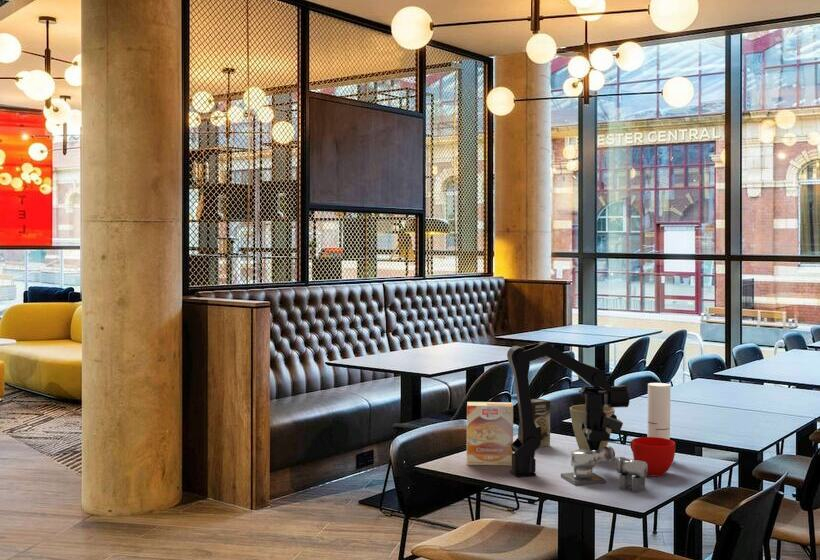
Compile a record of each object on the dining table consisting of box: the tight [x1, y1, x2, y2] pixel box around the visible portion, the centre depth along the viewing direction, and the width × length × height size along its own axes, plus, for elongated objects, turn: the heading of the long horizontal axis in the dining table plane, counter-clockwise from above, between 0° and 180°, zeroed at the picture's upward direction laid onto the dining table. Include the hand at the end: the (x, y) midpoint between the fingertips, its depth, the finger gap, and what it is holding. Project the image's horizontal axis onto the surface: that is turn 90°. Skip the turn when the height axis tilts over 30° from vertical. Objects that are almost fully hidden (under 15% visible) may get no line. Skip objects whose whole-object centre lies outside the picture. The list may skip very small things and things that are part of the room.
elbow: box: [570, 445, 616, 468], centre depth 268 cm, size 15×7×4 cm, turn 125°
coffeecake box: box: [466, 401, 514, 467], centre depth 286 cm, size 15×7×20 cm, turn 86°
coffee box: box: [531, 398, 551, 448], centre depth 311 cm, size 9×6×16 cm
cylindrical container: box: [646, 382, 671, 440], centre depth 290 cm, size 7×7×25 cm
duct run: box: [616, 456, 648, 494], centre depth 255 cm, size 8×5×9 cm, turn 50°
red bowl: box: [629, 436, 676, 477], centre depth 275 cm, size 13×17×10 cm
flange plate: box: [560, 467, 607, 486], centre depth 266 cm, size 10×10×4 cm
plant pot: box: [569, 404, 616, 450], centre depth 297 cm, size 15×15×16 cm
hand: (594, 457), depth 275 cm, fingers closed
